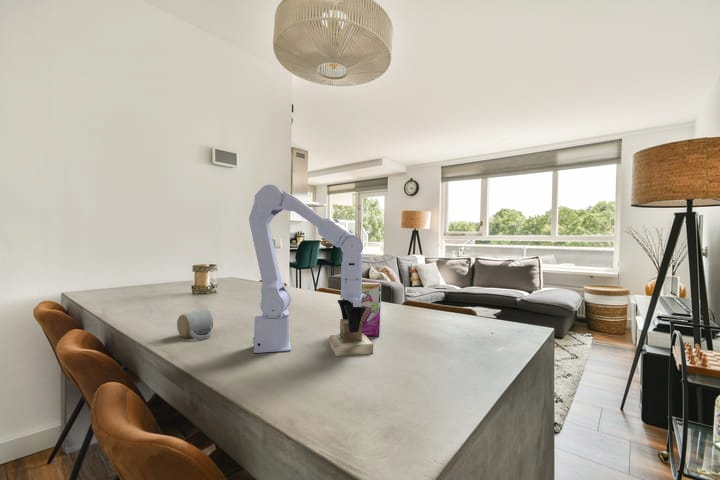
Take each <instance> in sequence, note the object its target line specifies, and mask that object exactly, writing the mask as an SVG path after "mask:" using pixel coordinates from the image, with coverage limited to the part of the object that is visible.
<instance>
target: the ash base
mask: <svg viewBox="0 0 720 480" xmlns="http://www.w3.org/2000/svg"><path fill="white" fill-rule="evenodd" d="M329 346H330V348H331V350H332V351H333V352H334V353H333V354H334V355H335V357H337V356H338V357H340V356H353V355H369V354H374V343H373V342H372V341H371V340H370V339H369V338H368V336H365V335H364V334H362V341H356V342H343V341H342V339H341V338H340V334H333V335H329Z"/></svg>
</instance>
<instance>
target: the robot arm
mask: <svg viewBox="0 0 720 480" xmlns="http://www.w3.org/2000/svg"><path fill="white" fill-rule="evenodd" d="M253 202H254V203H253V205H252V208H251V211H250V213H249V217H248V221H249V226H250V231H251V237H252V241H253V245H254V246H253V247H254V249H255V254H256V259H257V264H258V269H259V275H260V278H261V289H260V294H261V299H260V303H259V305H260V310H261V312H262V314H261V315H256V316H255V317H254V326H253V328H254V330H253V331H254V332H253V333H254V334H253V336H252V337H253V339H252V344H253V353H255V354H258V353H274V352H275V353H276V352H290V351H291V350H292V346H291V340H290V311H289V310H288V308H289V306H290V304H291V299H292V298H291V294H290V293H289V292H288V290H287V289H286V286H285V283H284V281H283V279H282V277H281V272H280V267H279V263H278V257H277V255H276V249H275V244H274V240H273V236H272V230H271V225H270V224H271V222H272V221H273V219H274V218H275V216H276V215H278V214H279V213H280V212H282V211H284V210H285V211H287V212H294V213H296V214H297V215H299V216H300V217H302V218H303V219H304V220H306V221H308V223H311V225H314V227H316V228H317V231H318V235H319V237H322V238H323V239H325V240H326V241H327V242H329V243H330V244H331V245H333V246H335V248H340V250H341V252H342V258H341V259H342V261H341V264H340V265H341V267H340V268H341V271H340V276H341V277H340V278H341V279H340V294H339V298H340V299H338V300H337V304H338V305H339V308H340V311H341V316H342V317H341V319H348V324H349V330H350V332H351V333H352V332H358V330H359V326H360V322H361V318H362V315H363V313H364V311H365V310H366V307H365V306H361V299H362V298H365V297H366V295H365V294H362V282H363V262H362V261H363V260H362V259H363V256H362V252H363V249H364V245H363V242H362V240H361V239H360V238H359V237H358V236H357V235H354V234H353V231H352V229H349V230H348V229H347V228H346V227H345V226H343V225H342V224H340V223H339V222H340V221H339V219H337V218H334V219H333V218H332V217H326V218H324V217H322V216H321V215H320V214H319V213H317V212H316V211H315V210H313V208H311V207H309V205H307V204H306V203H304V201H302V200H301V199H299V198H298V197H296V196H294V195H293V194H291V193H289V192H287V191H285V190H283V189H280V188H279V187H278V186H276V185H275V184H265V185H263V186H262V187H261V188H260V189H259V190H258V191H257V192H256V193H255V195H254V201H253Z"/></svg>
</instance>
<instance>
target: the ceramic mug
mask: <svg viewBox="0 0 720 480" xmlns="http://www.w3.org/2000/svg"><path fill="white" fill-rule="evenodd" d="M176 329H177V332H178V334H179V335H180V337H182V338H193V339H195V340H198V341H201V340H202V341H203V340H204V341H205V340H208V339H209V338H210V337H212V334H213V329H214V317H213V315H212V312H210V310H209V309H207V308H202V309H198V310H194V311H190V312H185V313H183V314H181V315H179V316H178V318H177V320H176Z"/></svg>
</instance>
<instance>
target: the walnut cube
mask: <svg viewBox="0 0 720 480" xmlns="http://www.w3.org/2000/svg"><path fill="white" fill-rule="evenodd" d="M339 320H340V325H339V329H340V330H339V335H340V338H341V339H342V341H343V342H356V341H362V322H360V326H359V330H358V332H352V333H351V332H350V330H349V324H348V319H343V318H341V319H339Z"/></svg>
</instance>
